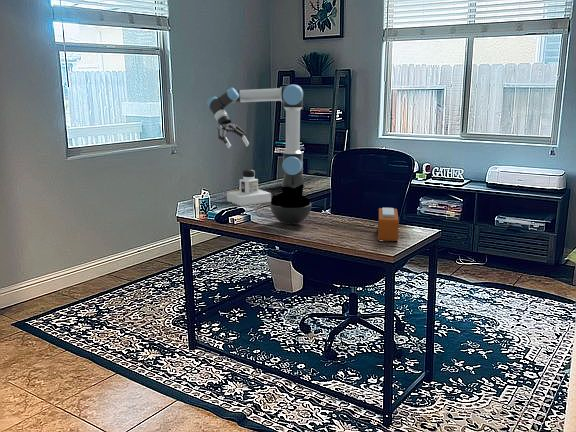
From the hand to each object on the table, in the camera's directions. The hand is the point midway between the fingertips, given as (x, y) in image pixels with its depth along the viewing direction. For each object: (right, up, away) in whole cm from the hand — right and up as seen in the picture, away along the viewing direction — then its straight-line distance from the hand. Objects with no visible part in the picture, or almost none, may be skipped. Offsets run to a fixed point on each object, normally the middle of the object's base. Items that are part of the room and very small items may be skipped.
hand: (239, 146), depth 334 cm
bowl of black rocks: (+30, -45, -60) cm, 81 cm away
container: (+7, -28, -12) cm, 31 cm away
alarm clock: (+74, -50, -79) cm, 119 cm away
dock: (+7, -33, -11) cm, 35 cm away
